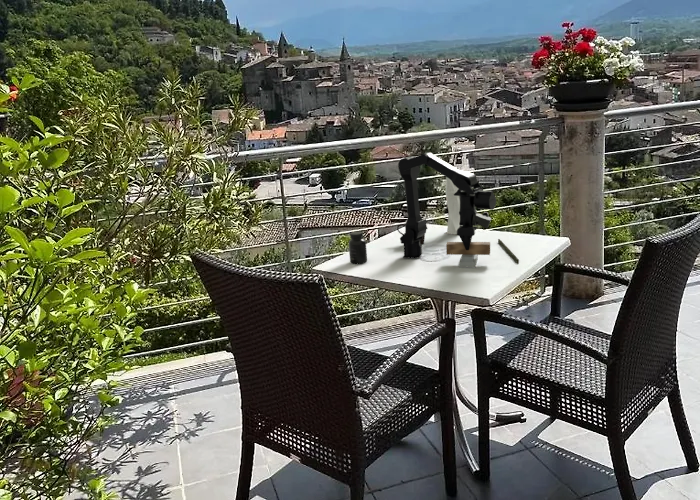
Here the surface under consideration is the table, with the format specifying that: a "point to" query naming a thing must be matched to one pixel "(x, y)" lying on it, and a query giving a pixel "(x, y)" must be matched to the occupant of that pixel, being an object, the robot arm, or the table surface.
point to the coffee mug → (420, 240)
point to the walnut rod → (474, 248)
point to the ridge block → (468, 261)
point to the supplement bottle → (357, 248)
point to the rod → (508, 251)
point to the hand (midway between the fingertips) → (468, 248)
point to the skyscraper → (452, 208)
